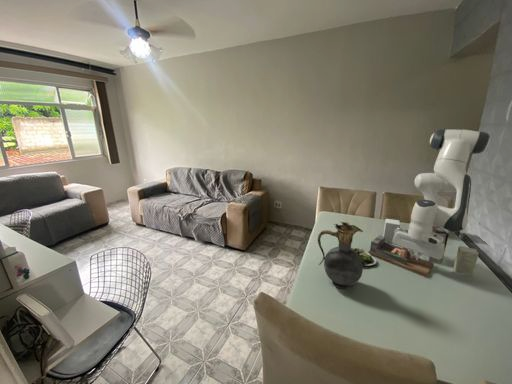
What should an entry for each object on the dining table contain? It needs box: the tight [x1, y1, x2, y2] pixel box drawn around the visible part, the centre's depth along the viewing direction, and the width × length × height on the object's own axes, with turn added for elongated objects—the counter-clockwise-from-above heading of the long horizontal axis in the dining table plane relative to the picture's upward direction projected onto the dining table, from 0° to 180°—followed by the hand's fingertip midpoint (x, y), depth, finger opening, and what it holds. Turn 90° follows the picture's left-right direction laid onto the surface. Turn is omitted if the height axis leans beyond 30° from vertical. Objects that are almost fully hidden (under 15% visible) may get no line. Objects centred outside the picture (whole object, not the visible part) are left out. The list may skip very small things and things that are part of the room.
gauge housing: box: [367, 234, 435, 278], centre depth 111 cm, size 13×26×8 cm, turn 39°
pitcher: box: [317, 221, 364, 289], centre depth 93 cm, size 11×19×30 cm, turn 65°
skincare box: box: [453, 245, 479, 277], centre depth 100 cm, size 6×4×12 cm
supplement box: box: [382, 218, 401, 244], centre depth 130 cm, size 7×7×13 cm
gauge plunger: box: [391, 247, 409, 258], centre depth 111 cm, size 8×6×5 cm
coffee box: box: [421, 226, 450, 263], centre depth 111 cm, size 9×6×16 cm
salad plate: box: [351, 247, 377, 268], centre depth 115 cm, size 19×18×5 cm
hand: (414, 258), depth 106 cm, fingers closed
